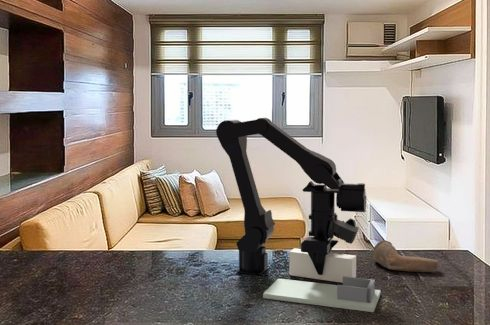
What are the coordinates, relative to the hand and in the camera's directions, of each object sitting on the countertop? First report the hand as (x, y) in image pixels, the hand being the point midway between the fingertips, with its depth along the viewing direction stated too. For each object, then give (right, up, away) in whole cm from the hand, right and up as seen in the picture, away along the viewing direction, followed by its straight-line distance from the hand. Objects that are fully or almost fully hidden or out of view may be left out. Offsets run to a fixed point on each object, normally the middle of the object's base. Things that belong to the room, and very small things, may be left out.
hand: (322, 272), depth 132 cm
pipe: (+23, -1, +8) cm, 24 cm away
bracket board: (-2, -3, -13) cm, 13 cm away
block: (0, -1, 0) cm, 1 cm away
